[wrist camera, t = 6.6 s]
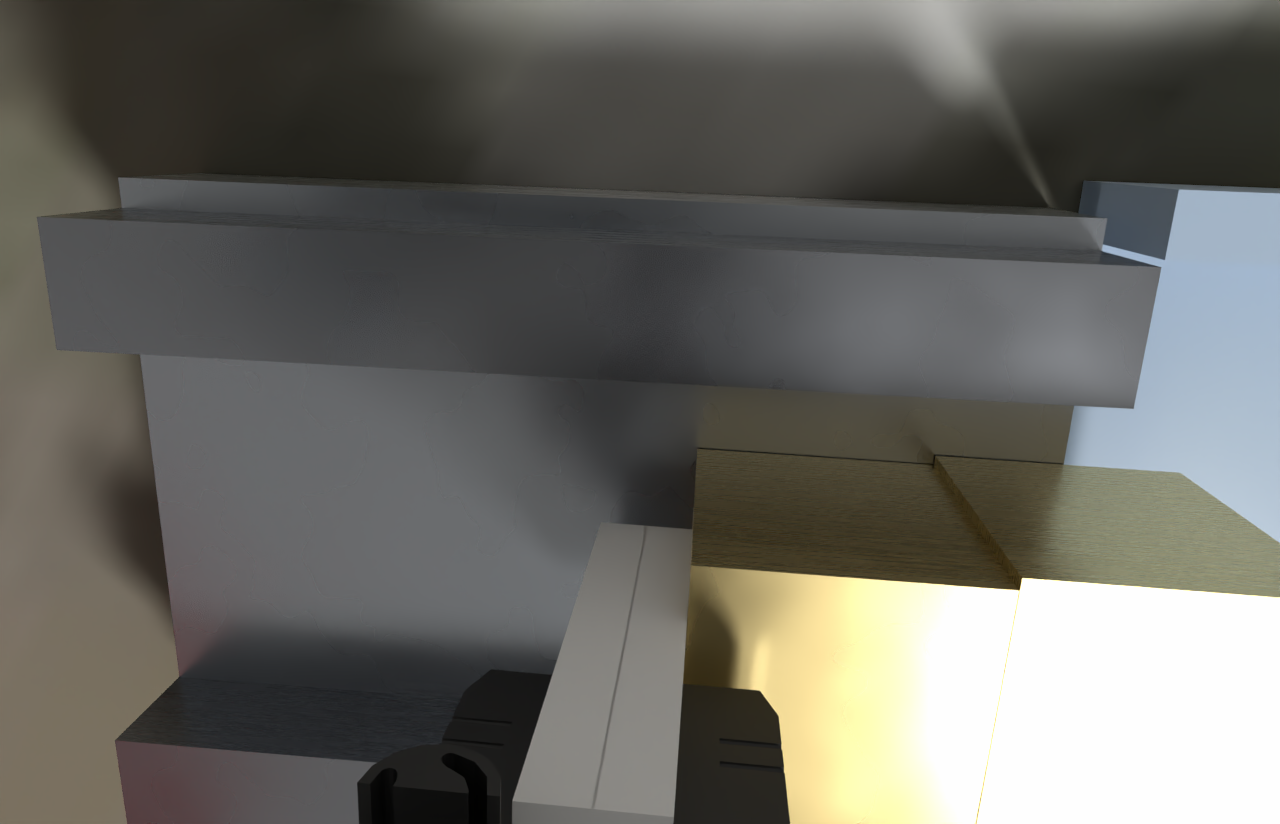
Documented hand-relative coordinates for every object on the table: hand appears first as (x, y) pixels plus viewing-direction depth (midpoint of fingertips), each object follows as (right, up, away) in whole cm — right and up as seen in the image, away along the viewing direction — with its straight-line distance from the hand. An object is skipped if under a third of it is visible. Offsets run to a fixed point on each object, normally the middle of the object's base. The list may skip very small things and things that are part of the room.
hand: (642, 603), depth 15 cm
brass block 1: (+3, 0, +1) cm, 3 cm away
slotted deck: (-1, +1, +4) cm, 4 cm away
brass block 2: (+7, 0, +1) cm, 7 cm away
